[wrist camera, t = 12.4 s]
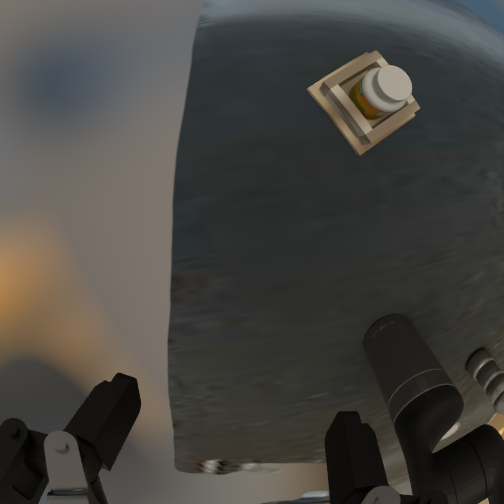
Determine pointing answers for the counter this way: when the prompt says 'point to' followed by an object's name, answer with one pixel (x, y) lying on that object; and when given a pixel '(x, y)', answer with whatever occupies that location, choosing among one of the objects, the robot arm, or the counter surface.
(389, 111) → the supplement bottle
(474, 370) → the plastic bottle
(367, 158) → the counter surface
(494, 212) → the counter surface
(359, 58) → the open square wooden box
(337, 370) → the counter surface
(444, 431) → the robot arm
